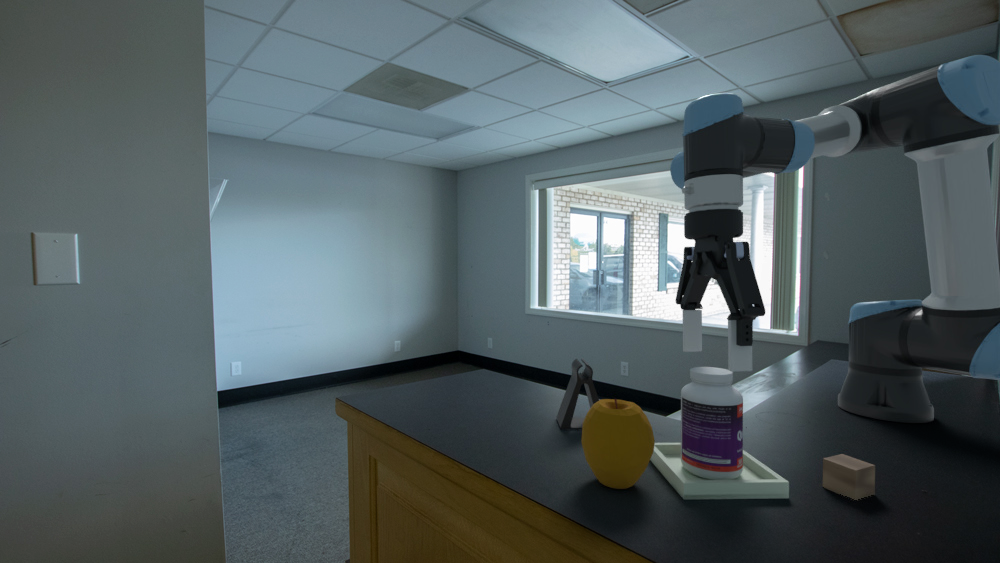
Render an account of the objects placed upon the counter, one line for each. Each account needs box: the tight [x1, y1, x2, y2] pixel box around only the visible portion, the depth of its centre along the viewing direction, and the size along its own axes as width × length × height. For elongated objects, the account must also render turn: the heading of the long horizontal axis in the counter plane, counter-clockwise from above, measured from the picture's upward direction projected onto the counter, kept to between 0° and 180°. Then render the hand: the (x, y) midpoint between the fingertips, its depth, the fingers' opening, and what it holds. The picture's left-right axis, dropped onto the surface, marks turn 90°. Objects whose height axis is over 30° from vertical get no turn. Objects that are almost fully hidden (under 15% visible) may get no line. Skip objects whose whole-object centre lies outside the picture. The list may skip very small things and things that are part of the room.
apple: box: [581, 397, 656, 490], centre depth 62 cm, size 10×10×12 cm
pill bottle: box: [680, 366, 744, 480], centre depth 65 cm, size 8×8×14 cm
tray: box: [650, 442, 790, 500], centre depth 65 cm, size 14×14×2 cm
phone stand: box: [556, 358, 600, 430], centre depth 86 cm, size 9×6×12 cm, turn 90°
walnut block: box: [822, 453, 876, 501], centre depth 60 cm, size 4×4×4 cm
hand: (713, 360), depth 64 cm, fingers open, 13 cm apart
